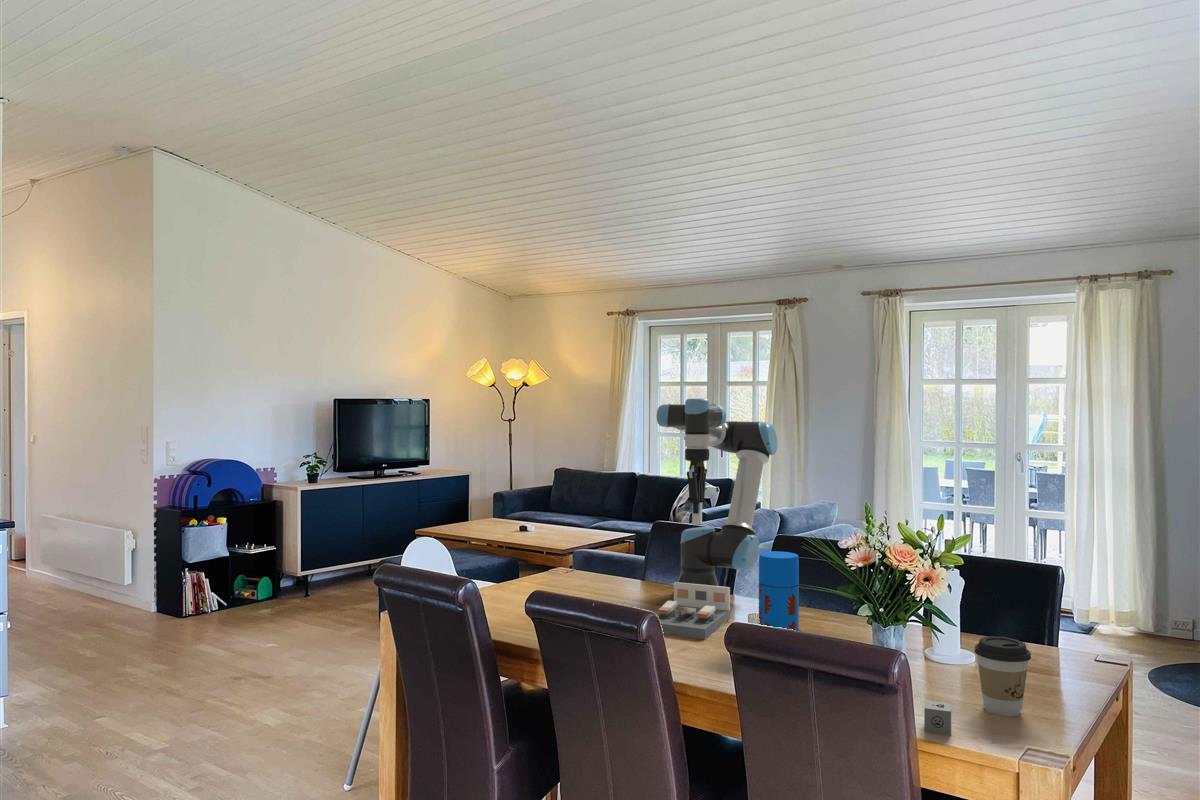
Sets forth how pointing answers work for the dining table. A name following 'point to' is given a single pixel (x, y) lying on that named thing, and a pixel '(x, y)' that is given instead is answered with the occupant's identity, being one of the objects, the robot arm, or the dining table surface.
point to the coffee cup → (1002, 674)
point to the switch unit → (696, 598)
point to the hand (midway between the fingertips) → (697, 523)
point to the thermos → (779, 589)
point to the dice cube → (937, 717)
